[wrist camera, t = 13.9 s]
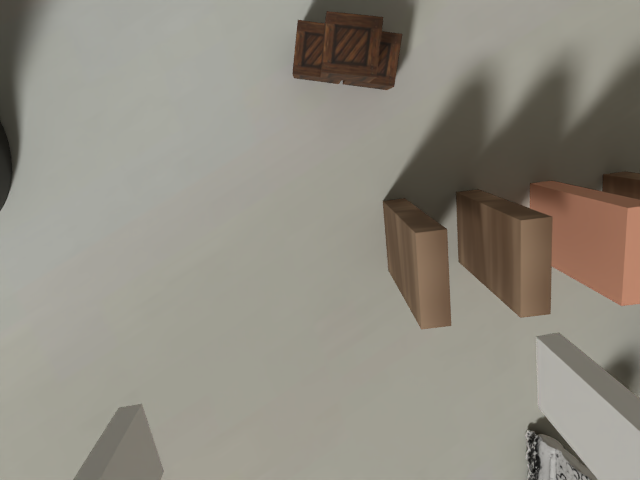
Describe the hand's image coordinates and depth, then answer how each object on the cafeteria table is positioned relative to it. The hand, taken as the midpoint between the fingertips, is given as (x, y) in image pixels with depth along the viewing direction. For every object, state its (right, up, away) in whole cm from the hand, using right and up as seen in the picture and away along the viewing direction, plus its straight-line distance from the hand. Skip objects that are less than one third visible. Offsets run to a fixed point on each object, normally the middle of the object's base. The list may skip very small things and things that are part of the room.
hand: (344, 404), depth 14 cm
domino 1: (+6, +6, +21) cm, 23 cm away
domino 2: (+11, +7, +21) cm, 25 cm away
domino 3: (+18, +7, +21) cm, 29 cm away
